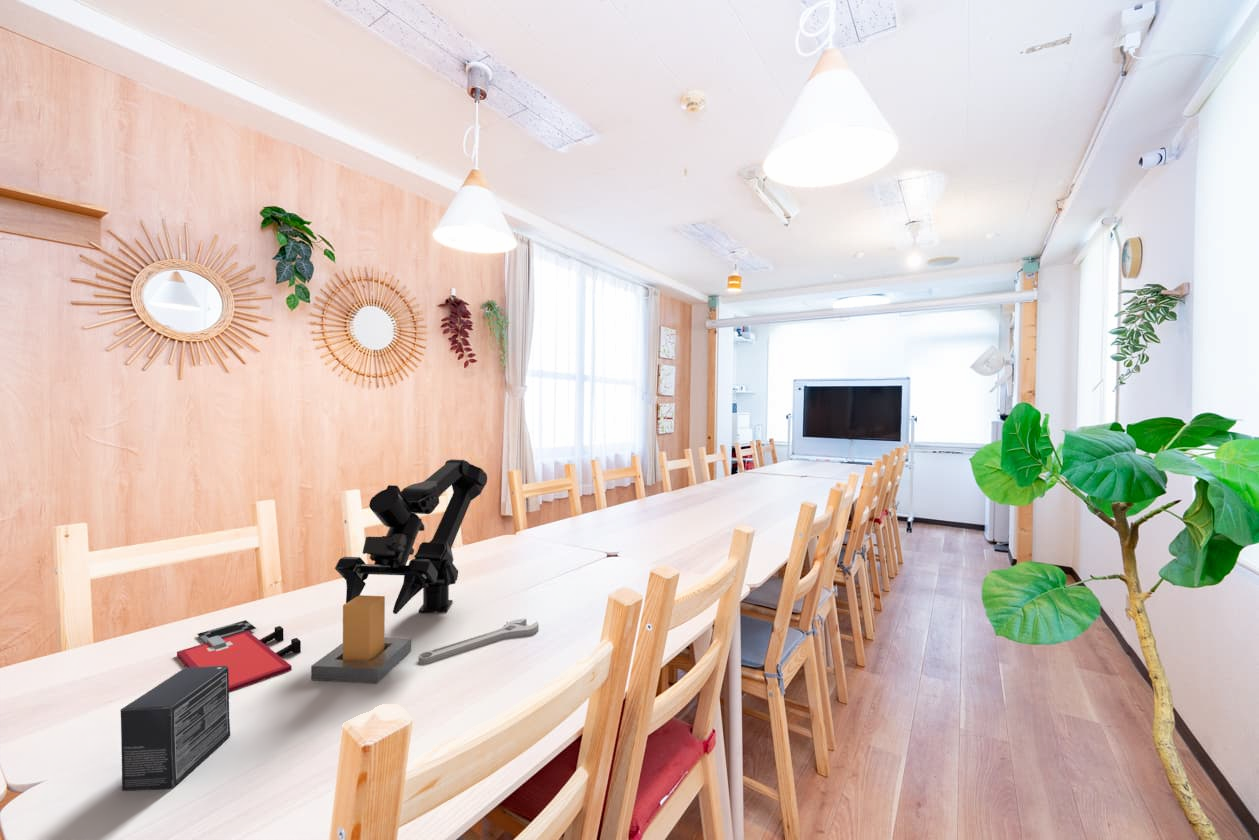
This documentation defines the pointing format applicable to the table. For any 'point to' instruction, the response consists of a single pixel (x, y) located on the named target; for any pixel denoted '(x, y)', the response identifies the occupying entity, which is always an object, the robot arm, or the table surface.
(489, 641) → the adjustable wrench
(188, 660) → the red board with handle
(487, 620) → the table surface
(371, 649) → the tall tan rectangular block
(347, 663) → the gray square socket plate
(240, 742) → the table surface
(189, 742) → the small box
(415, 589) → the robot arm
